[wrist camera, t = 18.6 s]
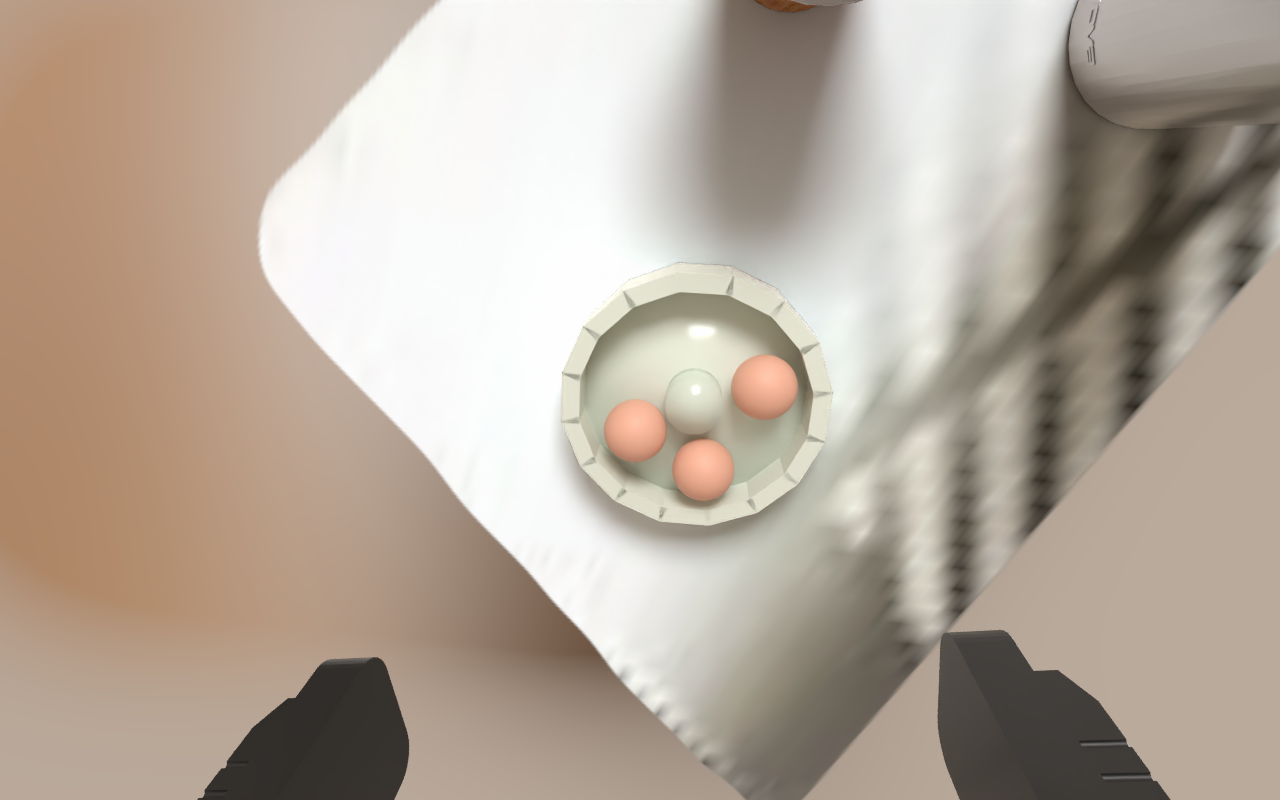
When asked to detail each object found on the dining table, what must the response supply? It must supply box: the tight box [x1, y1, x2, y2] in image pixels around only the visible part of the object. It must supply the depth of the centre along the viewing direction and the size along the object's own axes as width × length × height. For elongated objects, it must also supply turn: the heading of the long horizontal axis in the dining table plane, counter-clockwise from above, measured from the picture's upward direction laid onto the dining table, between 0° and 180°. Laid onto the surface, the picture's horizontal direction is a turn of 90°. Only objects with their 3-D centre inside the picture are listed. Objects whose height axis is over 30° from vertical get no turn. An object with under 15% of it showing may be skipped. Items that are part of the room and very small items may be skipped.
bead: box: [604, 399, 667, 462], centre depth 38 cm, size 4×4×4 cm
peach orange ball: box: [672, 438, 734, 501], centre depth 38 cm, size 4×4×4 cm
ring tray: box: [562, 263, 833, 526], centre depth 38 cm, size 15×15×3 cm
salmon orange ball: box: [731, 354, 798, 420], centre depth 36 cm, size 4×4×4 cm
